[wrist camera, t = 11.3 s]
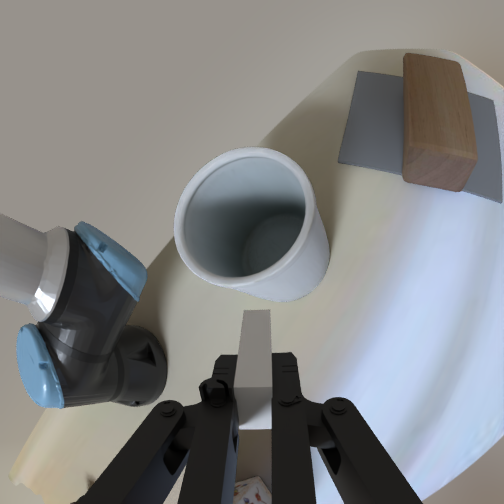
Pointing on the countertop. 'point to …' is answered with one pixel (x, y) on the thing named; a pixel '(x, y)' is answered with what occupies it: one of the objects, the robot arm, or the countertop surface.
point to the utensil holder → (253, 225)
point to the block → (437, 124)
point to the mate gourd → (77, 500)
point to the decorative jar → (251, 492)
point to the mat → (392, 133)
